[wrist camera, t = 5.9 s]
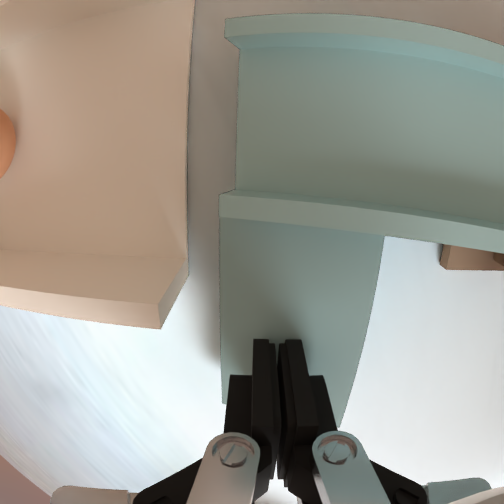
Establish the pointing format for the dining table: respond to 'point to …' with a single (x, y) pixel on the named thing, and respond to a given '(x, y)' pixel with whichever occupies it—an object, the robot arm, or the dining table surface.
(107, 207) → the tray
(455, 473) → the dining table surface
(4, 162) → the ball
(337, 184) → the lever
